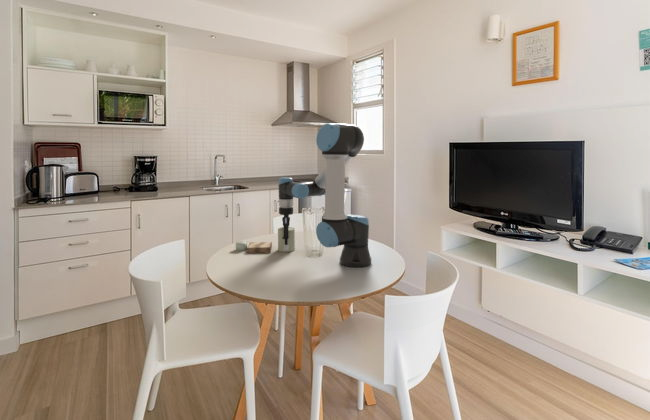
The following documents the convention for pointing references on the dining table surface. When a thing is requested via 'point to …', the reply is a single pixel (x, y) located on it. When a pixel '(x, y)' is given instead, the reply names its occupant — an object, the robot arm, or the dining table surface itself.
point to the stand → (259, 247)
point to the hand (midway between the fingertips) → (286, 247)
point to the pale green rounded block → (241, 246)
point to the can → (291, 239)
